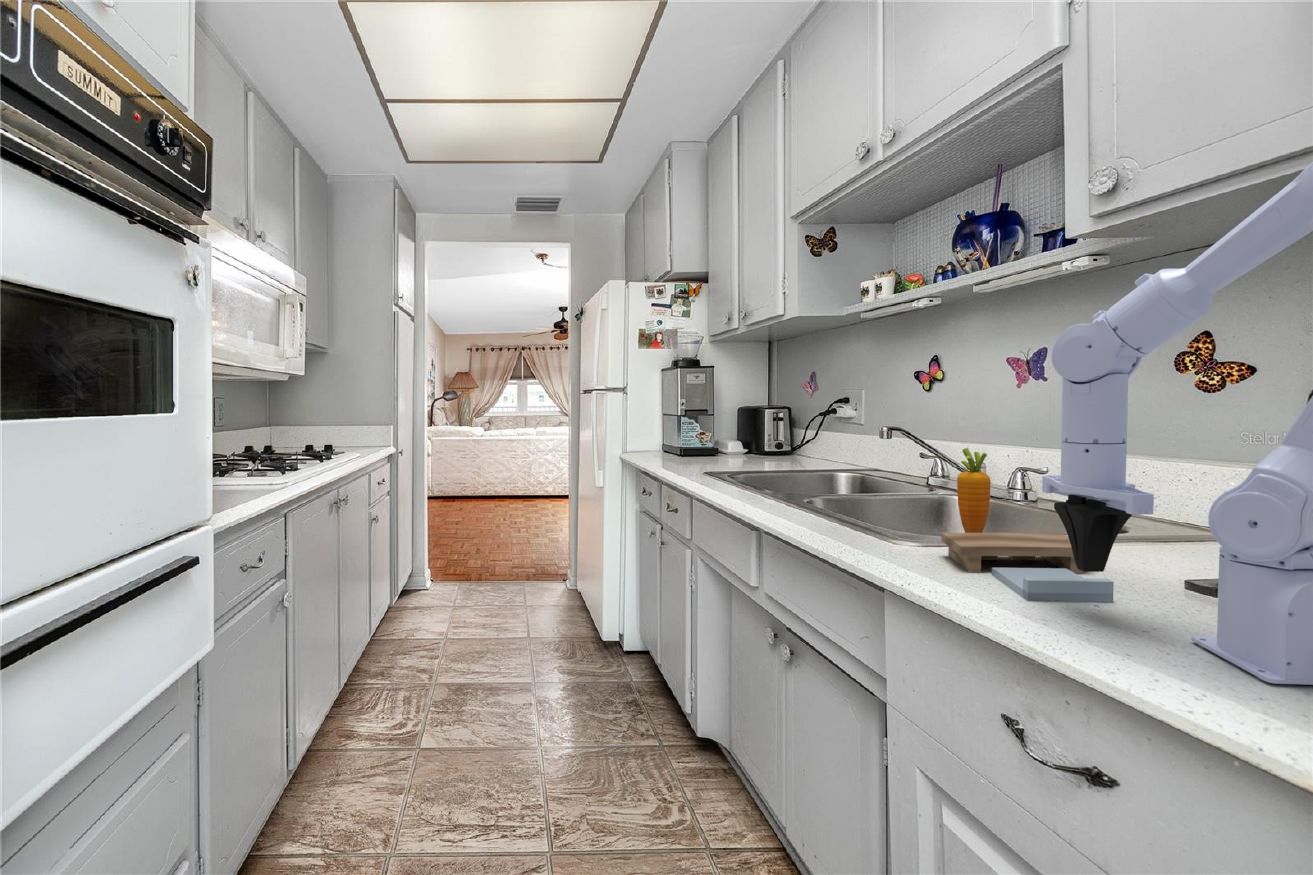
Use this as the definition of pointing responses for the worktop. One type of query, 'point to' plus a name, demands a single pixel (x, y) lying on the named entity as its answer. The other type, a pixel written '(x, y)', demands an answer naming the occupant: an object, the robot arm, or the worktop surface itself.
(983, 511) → the carrot
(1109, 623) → the worktop surface
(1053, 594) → the light blue lipped plate
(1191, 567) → the worktop surface
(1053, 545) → the bench
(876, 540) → the worktop surface
